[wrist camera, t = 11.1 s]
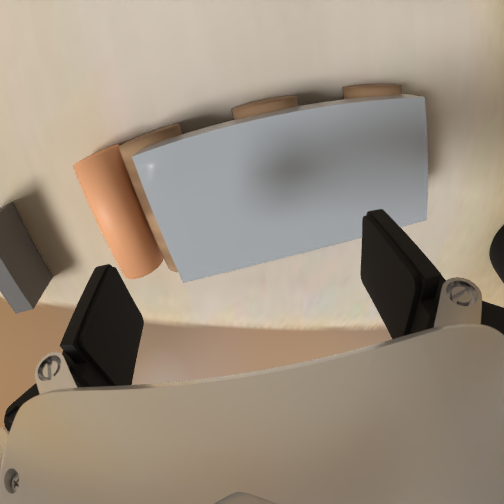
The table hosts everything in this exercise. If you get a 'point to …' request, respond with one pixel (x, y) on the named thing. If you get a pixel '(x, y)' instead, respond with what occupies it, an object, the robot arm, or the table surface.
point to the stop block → (20, 263)
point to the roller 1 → (118, 212)
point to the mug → (498, 253)
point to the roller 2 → (127, 152)
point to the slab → (286, 181)
